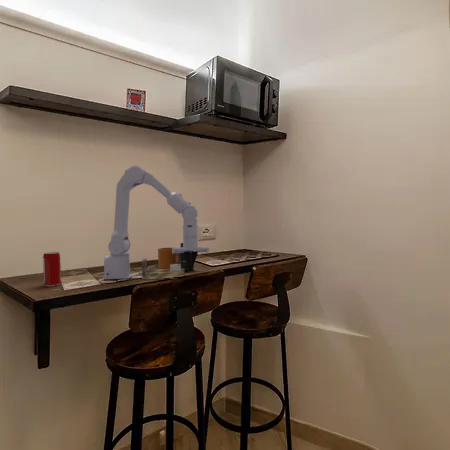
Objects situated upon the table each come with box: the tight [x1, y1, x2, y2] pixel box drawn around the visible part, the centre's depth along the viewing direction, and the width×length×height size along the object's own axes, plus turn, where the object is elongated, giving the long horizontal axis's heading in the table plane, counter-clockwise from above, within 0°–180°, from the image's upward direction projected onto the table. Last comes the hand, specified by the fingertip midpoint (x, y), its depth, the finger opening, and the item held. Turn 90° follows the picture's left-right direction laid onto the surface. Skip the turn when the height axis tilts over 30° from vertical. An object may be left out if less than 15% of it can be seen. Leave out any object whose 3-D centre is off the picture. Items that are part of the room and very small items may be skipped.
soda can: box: [42, 251, 62, 287], centre depth 127 cm, size 6×6×12 cm
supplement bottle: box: [178, 242, 195, 273], centre depth 153 cm, size 7×7×12 cm
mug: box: [157, 247, 178, 270], centre depth 161 cm, size 9×12×9 cm
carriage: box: [170, 264, 181, 272], centre depth 139 cm, size 4×4×4 cm
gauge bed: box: [141, 258, 186, 280], centre depth 139 cm, size 16×7×7 cm, turn 98°
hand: (191, 271), depth 140 cm, fingers closed
